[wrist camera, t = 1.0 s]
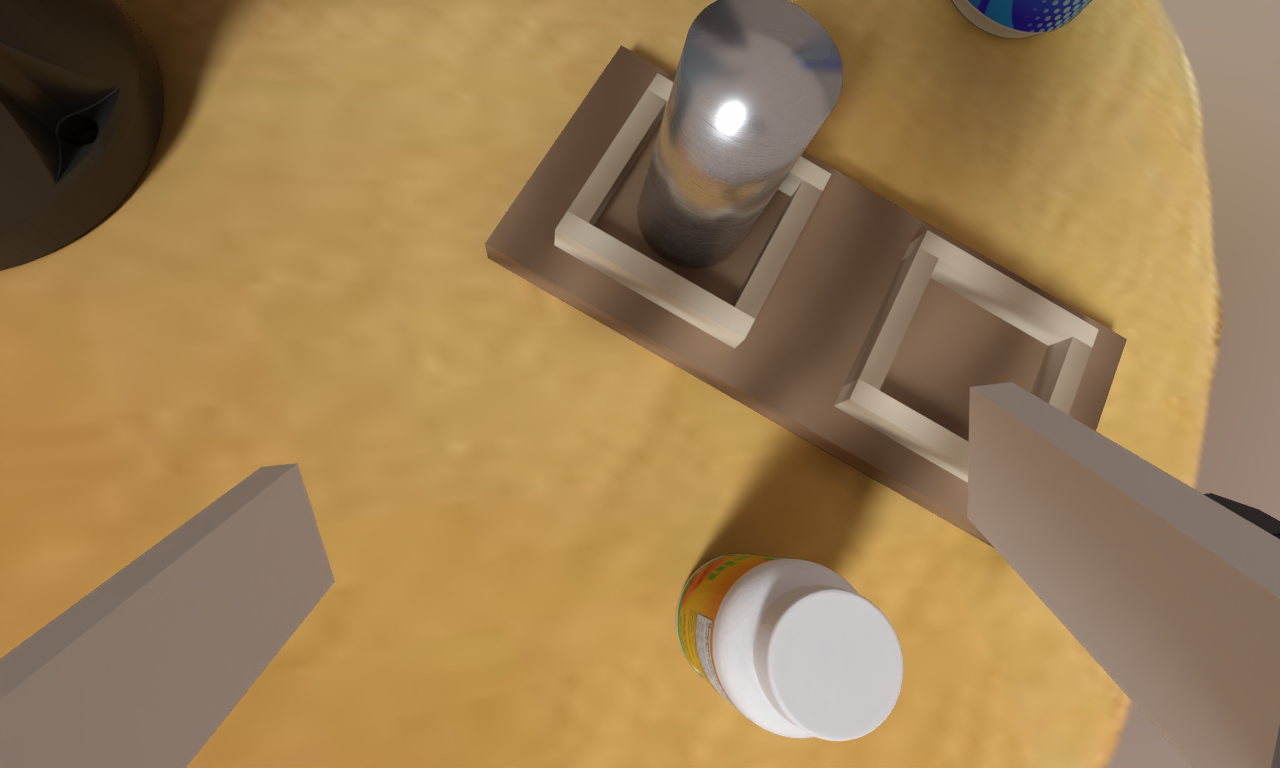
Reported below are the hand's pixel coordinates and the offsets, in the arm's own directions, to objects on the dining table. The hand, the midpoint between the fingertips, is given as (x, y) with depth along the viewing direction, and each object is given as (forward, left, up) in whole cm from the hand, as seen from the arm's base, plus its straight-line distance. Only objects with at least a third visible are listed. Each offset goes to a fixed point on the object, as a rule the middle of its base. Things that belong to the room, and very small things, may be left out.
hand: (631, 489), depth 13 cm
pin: (-10, +10, -14) cm, 19 cm away
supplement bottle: (+7, +4, -15) cm, 17 cm away
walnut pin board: (-4, +14, -15) cm, 21 cm away
